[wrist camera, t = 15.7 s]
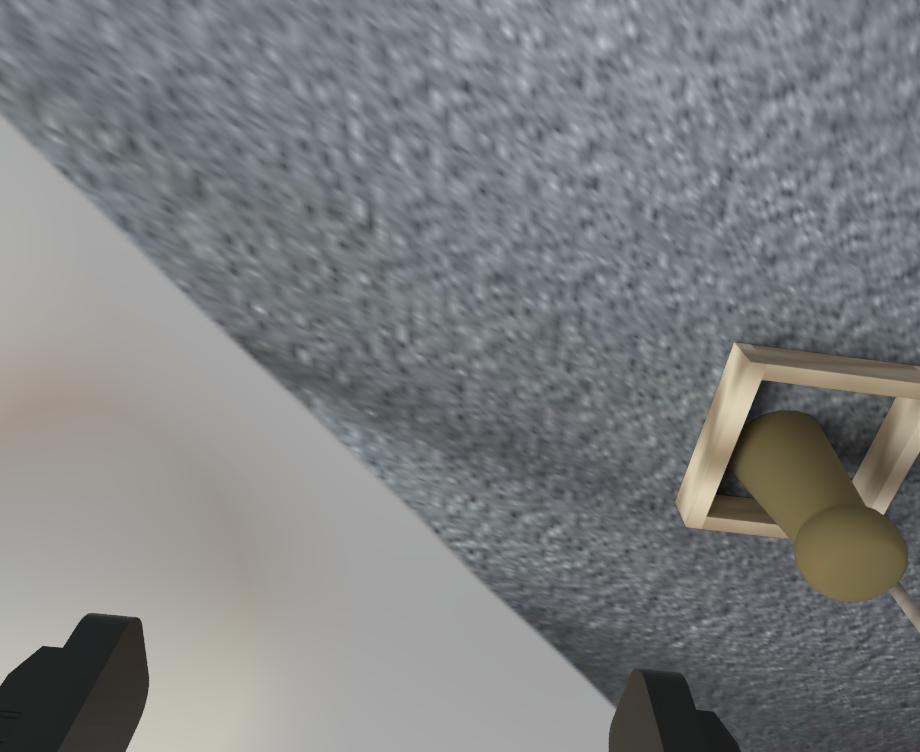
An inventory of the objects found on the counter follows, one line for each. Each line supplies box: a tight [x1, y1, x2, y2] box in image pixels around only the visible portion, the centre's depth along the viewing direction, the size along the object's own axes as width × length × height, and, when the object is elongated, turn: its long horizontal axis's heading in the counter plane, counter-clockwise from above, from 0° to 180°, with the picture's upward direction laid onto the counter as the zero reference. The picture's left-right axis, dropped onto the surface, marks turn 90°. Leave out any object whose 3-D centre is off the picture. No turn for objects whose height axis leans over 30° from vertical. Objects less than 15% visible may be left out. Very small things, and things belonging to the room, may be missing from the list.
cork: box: [729, 411, 908, 602], centre depth 38 cm, size 6×6×11 cm
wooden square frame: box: [675, 342, 920, 632], centre depth 36 cm, size 17×13×16 cm
